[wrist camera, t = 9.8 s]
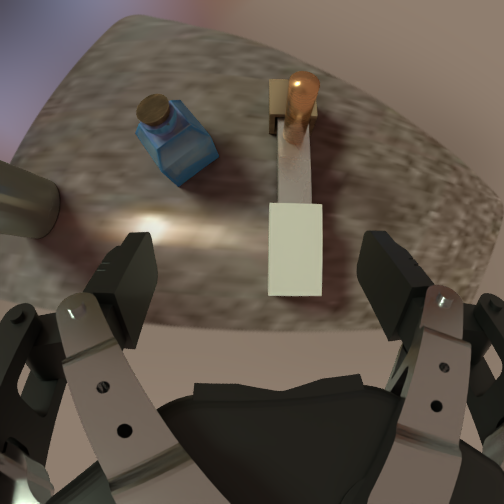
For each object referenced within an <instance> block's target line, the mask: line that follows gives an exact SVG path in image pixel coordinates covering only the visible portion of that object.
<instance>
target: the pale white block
mask: <svg viewBox="0 0 504 504" xmlns="http://www.w3.org/2000/svg"><path fill="white" fill-rule="evenodd" d="M268 296H322V204H300V203H270V205H269V248H268Z"/></svg>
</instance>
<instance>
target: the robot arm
mask: <svg viewBox="0 0 504 504" xmlns="http://www.w3.org/2000/svg"><path fill="white" fill-rule="evenodd" d="M59 205H60V198H59V192H58V189H57V187H56V185H55V184H54V183H53V182H52V181H50V180H48V179H45V178H43V177H40V176H38V175H36V174H33V173H31V172H28V171H26V170H23V169H21V168H18V167H16V166H13V165H11V164H9V163H6V162H4V161H1V160H0V234H5V235H13V236H20V237H28V238H42V237H44V236H45V235H47V234H48V232H49V231H50V230H51V229H52V227H53V226H54V224H55V221H56V219H57V216H58V212H59ZM157 278H158V271H157V265H156V260H155V254H154V249H153V243H152V238H151V235H150V233H149V232H135V233H129V234H128V235H127V237H126V238H125V240H124V241H123V243H122V244H121V246H116V247H115V248H114V249H112V250H111V251H110V252H108V253H107V255H106V256H105V258H104V259H103V261H102V264H100V265H99V267H98V268H97V271H95V273H94V275H93V276H92V278H91V279H90V281H89V283H88V284H87V286H86V288H85V289H84V291H83V292H82V293H76V294H73V295H71V296H69V297H67V298H66V299H64V300H63V301H62V302H61V303H60V304H59V306H58V307H57V310H56V313H51V314H45V315H40V316H38V314H37V312H36V310H35V308H34V307H33V306H32V305H31V304H28V303H23V304H19V305H17V306H15V307H13V308H12V309H10V310H9V311H8V312H7V313H6V314H5V316H4V317H3V319H2V320H1V322H0V504H504V301H503V300H502V299H500V298H499V297H497V296H495V295H493V294H489V293H485V294H482V295H481V297H480V298H479V300H478V303H477V304H476V305H472V304H466V303H463V301H462V299H461V297H460V296H459V295H458V294H457V293H456V292H455V291H454V290H452V289H451V288H449V287H446V286H443V285H435V284H434V283H433V282H432V281H431V279H430V278H429V277H428V276H427V274H426V273H425V272H424V270H423V269H422V268H421V267H420V266H418V263H417V262H416V261H415V259H413V257H412V256H411V255H410V253H409V252H408V251H407V250H406V249H404V248H403V247H401V246H400V245H398V244H397V243H395V241H394V240H393V239H392V238H391V237H390V236H389V234H388V233H387V232H386V231H366V232H365V234H364V237H363V241H362V246H361V250H360V255H359V259H358V263H357V278H358V281H359V283H360V285H361V287H362V289H363V291H364V293H365V294H366V296H367V298H368V300H369V302H370V304H371V306H372V308H373V310H374V312H375V314H376V316H377V318H378V320H379V322H380V324H381V326H382V328H383V331H384V333H385V335H386V336H387V339H388V341H395V340H402V342H403V343H402V345H401V347H400V349H399V352H398V355H397V358H396V361H395V364H394V367H393V369H392V372H391V375H390V377H389V380H388V383H387V385H386V388H385V390H384V389H381V388H377V387H373V386H367V385H363V382H362V379H361V376H360V374H355V375H348V376H341V377H332V378H324V379H320V380H317V381H314V382H311V383H308V384H305V385H302V386H299V387H295V388H292V389H289V390H286V391H273V390H268V389H262V388H256V387H251V386H246V385H240V384H208V383H194V392H193V395H190V396H185V397H182V398H179V399H176V400H174V401H171V402H169V403H167V404H165V405H163V406H161V407H160V408H158V409H157V410H156V409H155V407H154V406H153V404H152V402H151V401H150V399H149V398H148V396H147V394H146V393H145V391H144V390H143V388H142V386H141V384H140V383H139V381H138V379H137V378H136V376H135V374H134V372H133V370H132V369H131V367H130V365H129V363H128V361H127V359H126V358H125V356H124V354H123V349H124V348H126V349H127V348H128V349H135V348H136V345H137V342H138V339H139V335H140V332H141V329H142V326H143V323H144V320H145V317H146V314H147V311H148V308H149V305H150V302H151V299H152V296H153V293H154V290H155V287H156V284H157ZM491 344H492V345H493V347H494V349H495V350H496V352H497V354H498V356H499V357H500V359H501V361H502V372H501V375H500V376H499V377H498V378H497V380H495V378H494V376H493V374H492V372H491V370H490V368H489V366H488V364H487V362H486V361H485V359H484V357H483V356H484V355H485V353H486V352H487V350H488V349H489V347H490V346H491ZM25 363H26V365H27V366H28V367H29V368H30V370H31V371H30V373H29V376H28V379H27V381H26V383H25V386H24V389H23V391H22V394H21V397H20V395H19V393H18V389H17V382H18V379H19V376H20V374H21V372H22V369H23V367H24V365H25ZM66 383H68V386H69V389H70V392H71V395H72V398H73V401H74V404H75V407H76V410H77V412H78V415H79V418H80V420H81V423H82V425H83V428H84V430H85V432H86V435H87V437H88V439H89V442H90V444H91V446H92V448H93V451H94V453H95V455H96V457H97V459H98V460H97V461H96V462H95V463H93V464H92V465H91V466H90V467H89V468H87V469H86V470H85V471H84V472H83V473H81V474H80V475H79V476H78V477H76V478H75V479H74V480H73V481H71V482H70V483H69V484H68V485H66V486H65V487H64V488H62V489H61V490H60V491H59V492H57V493H56V494H55V495H53V494H54V487H53V485H52V484H51V482H50V478H49V475H48V473H47V471H46V469H45V465H46V460H47V454H48V450H49V445H50V441H51V436H52V433H53V429H54V425H55V421H56V417H57V413H58V410H59V406H60V403H61V399H62V396H63V393H64V390H65V386H66ZM466 402H467V405H468V407H469V410H470V412H471V415H472V418H473V420H474V423H475V426H476V428H477V431H478V434H479V437H480V440H481V443H482V446H483V452H482V453H481V452H479V451H478V450H476V449H475V448H473V447H472V446H470V445H469V444H467V443H466V442H464V441H463V440H461V439H460V435H461V430H462V424H463V419H464V413H465V407H466Z"/></svg>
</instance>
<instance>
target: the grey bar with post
mask: <svg viewBox="0 0 504 504" xmlns="http://www.w3.org/2000/svg"><path fill="white" fill-rule="evenodd" d="M319 87H320V82H319V80H318V78H317V77H316V76H315V75H314V74H312V73H310V72H306V71H299V72H296V73H294V74H293V75H292V76H291V77H290V80H289V87H288V95H287V103H286V111H285V117H277V203H300V204H312V193H311V161H310V140H309V121H310V117H311V114H312V111H313V107H314V104H315V101H316V97H317V94H318V91H319Z"/></svg>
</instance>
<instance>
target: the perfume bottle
mask: <svg viewBox="0 0 504 504" xmlns="http://www.w3.org/2000/svg"><path fill="white" fill-rule="evenodd" d="M136 115H137V118H138V119H139V120H140V123H139V125H138V127H137V130H136V133H135V134H136V135H137V137H138V138H139V140H140V141H141V143H142V144H143V146H144V147H145V148H146V150H147V151H148V153H149V154H150V156H151V157H152V159H153V160H154V162H155V163H156V164H157V166H158V167H159V169H160V170H161V172H162V173H163V174H165V175H166V176H167V177H168V178H169V179H170V180H171V181H172V182H173V183H175V184H176V185H177V186H178V187H179V186H181V185H182V184H183V183H184V182H186V181H187V180H188V179H190V178H191V177H192V176H194V175H195V174H196V173H198V172H199V171H200V170H202V169H203V168H204V167H206V166H207V165H208V164H210V163H211V162H213V161H214V160H215V159H217V158H218V157H219V155H218V152H217V150H216V148H215V145H214V143H213V141H212V138H211V136H210V135H209V133H208V132H207V131H206V130H205V129H204V127H203V126H202V125H201V124H200V123H199V121H198V120H197V119H196V118H195V117H194V116H193V114H192V113H191V112H190V111H189V110H188V108H187V107H186V106H185V105H184V104H183V103H182V101H181V100H170V101H168V99H167V97H165V96H164V95H162V94H153V95H150V96H148V97H146V98H144V99H143V100H142V101H141V102H140V104H139V105H138V107H137V110H136Z"/></svg>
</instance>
